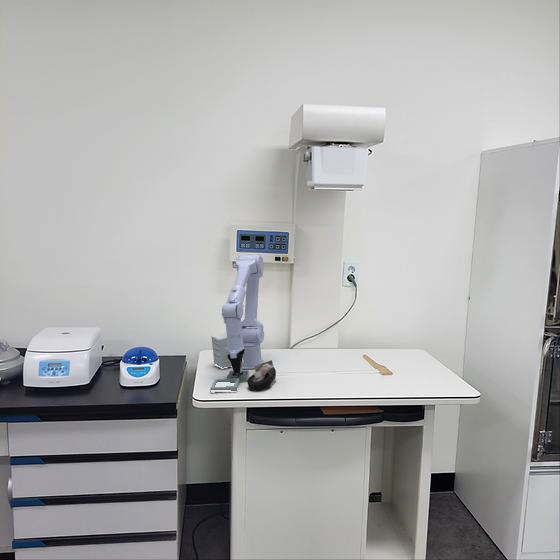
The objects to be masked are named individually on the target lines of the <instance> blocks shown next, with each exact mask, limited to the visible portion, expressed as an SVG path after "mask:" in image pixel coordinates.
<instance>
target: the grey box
mask: <svg viewBox="0 0 560 560" xmlns="http://www.w3.org/2000/svg"><path fill="white" fill-rule="evenodd" d="M211 344H212V345H211V346H212V355H213V364H214V363H215V364H217V365H218V366H220V367H222V368H224V367H231V366H232V365H231V363H230V361H229V359H228V357H227V355H228V354H230V353H229V351H228V350H225V347H228V344H227V333H226V332H224V333H220V334H216V335H211ZM231 368H232V367H231Z"/></svg>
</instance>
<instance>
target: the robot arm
mask: <svg viewBox="0 0 560 560" xmlns="http://www.w3.org/2000/svg"><path fill="white" fill-rule="evenodd" d="M235 268H236V271H237V274H236V279H235V284H234V285H233V286H232V287H231V288H230V292H229V294H228V298H227V300H226V303H224V304H223V305H222V308H221V316H222V319H223V324H224V325H225V331H226V332H225V333H227V344H228V347H225V350H228V351H229V353H230V354H228V355H227V357H228V359H229V361H230V363H231V365H232V367H231V368H232V371H234V373H240V370H241V371H242V370H253V369H254V370H255V366H257V365H259V364H262V363H265V362H264V359H262V351H261V349H262V348H261V344H262V343H263V342H264V340H265V339H264V338H265V332H264V325H263V323H262V322H261V321H259V320H258V302H259V286H260V279H261V278H262V277H263V276H264V259H263V257H262V255H261V254H257V255H256V254H255V255H254V254H253V255H250V254H249V255H237V257H236V259H235ZM245 287H246V288H245ZM244 301H245V302H244ZM244 303H245V304H244ZM244 305H245V306H244ZM243 315H244V318H243ZM242 318H243V320H242ZM241 363H242V365H241Z"/></svg>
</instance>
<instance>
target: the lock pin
mask: <svg viewBox="0 0 560 560" xmlns="http://www.w3.org/2000/svg"><path fill="white" fill-rule="evenodd" d="M241 365H242V366H243V362H242V363H241ZM241 371H242V369H241V370H240V373H234V374H235V376H240V375H242V373H241Z"/></svg>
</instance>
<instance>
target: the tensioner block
mask: <svg viewBox="0 0 560 560" xmlns="http://www.w3.org/2000/svg"><path fill="white" fill-rule="evenodd" d="M241 373H242V375H240V376H235V374H234V371H233V370H230V371H229V372H228V374H227V377H226V379H231V378H239V379H240V381H241V382H240V383H247V380H248V378H249V377H250V375H249V369H244V370H241Z"/></svg>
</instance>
